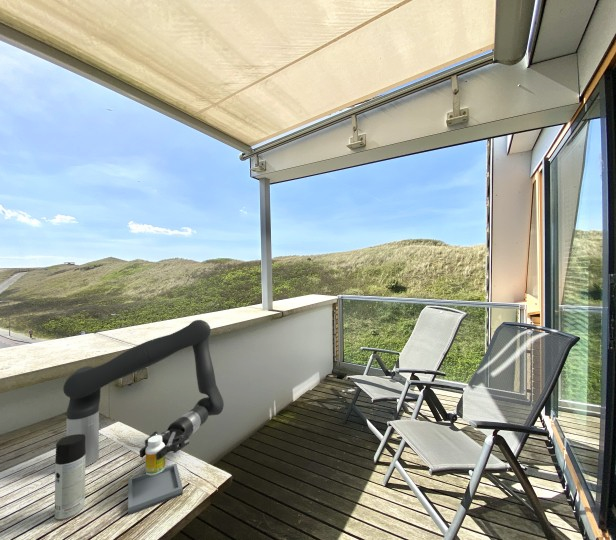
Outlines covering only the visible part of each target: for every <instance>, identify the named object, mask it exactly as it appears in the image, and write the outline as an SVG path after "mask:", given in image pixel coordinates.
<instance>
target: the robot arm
mask: <svg viewBox="0 0 616 540" xmlns="http://www.w3.org/2000/svg"><path fill="white" fill-rule="evenodd" d="M211 333H212V331H211V326H210V325H209V323H208V322H207V321H205V320H202V319H195V320H193V321H192V322H190V323H189V324H188V325H187V326H185V327H183V328H181V329H179V330H177V331H175V332H173V333H169V334H167V335H163V336H159V337H156V338H153V339H150V340H147V341H145V342H143V343H139V344H137V345H135V346H133V347H131V348H129V349H127V350H126V351H124V352H122V353H120V354H119V355H117V356H115V357H114V358H112V359H111V360H109V361H107V362H104V363H102V364H100V365H97V366H94V367H92V366H84V367H80V368H78V369H77V370H75V371H74V372H73V373H72V374H71V375H70V376H69V377H68V378H67V379H66V380H65V382H64V385H63V387H62V388H63V390H62V391H63V393H64V395H65V396H66V397H68V398H69V403H68V405H67V409H66V437H67V436H70V435H77V434H81V435H82V434H84V435H85V450H86V453H85V468H87V467H89V466H91V465H93V464H94V463H96V462H97V461H98V460H99V457H100V450H99V449H100V445H99V444H100V432H99V431H100V403H101V393H102V392H101V389H102V388H103V387H106V386H107V385H109V384H111V383H113V382H115V381H117V380H119V379H122V378H125V377H127V376H130V375H132V374H134V373H137V372H139V371H141V370H144V369H146V368H149V367H151V366H153V365H155V364H157V363H158V362H160V361H162V360H165V359H166V358H167V359H168V357H170V356H171V355H174V354H175V353H177V352H179V351H181V350H184V349H186V348H189V347H192V350H193V356H194V363H195V364H194V365H195V374H196V381H197V382H196V383H197V388H198V392H199V393H200V394H202V395H203V394H204V395H206V397H203V398H201V399H199V400H198V401H197V402H196V404H195V405H194V406H193V408H191V409H190V410H189V411H187V412H186V413H184V414H183V415H181V416H180V417H178V418H177V419H175V420H174V421H172V423H171V424H169V426H168V427H167V429H166V430H165V431H162V432H161V433H158V431H156V430H155V431H153V432H152V433H151V435H149V436H148V437H147V438H146V439H145V440H144V446H143V447H142V448H140V450H139V458H144V457H146V454H145V452H146V448H147V446H148V439H149V438H151V437H153V436H156V435H161V436H162V442H163V443H164V444H165V446H164V447H163V448H162V449H161V450H159V451H158V452H157V454H156V459H157V460H160V459H161V458H163V457H164V456H165V457H166V455H168V454H170V453H173V454H174V453H177V452H179V451H181V450H182V449H183V448H185V447H186V446H187V445H189V444H190V437H191V436H192V435H193V434H195V433H196V432H197V430H198V429H199V428H200V427H201V426H202V425H204V423H205V422H207V420H208V418H209V417H210V416H217V415H220V414H222V412H223V409H224V407H225V406H224V399H223V397H222V394H221V392H220V391H219V388H218V385H217V382H216V376H215V369H214V366H213V362H212V357H211V353H210V346H209V345H210V344H209V343H210V342H209V340H210V339H209V337H210V335H211ZM95 461H96V462H95ZM92 463H93V464H92ZM90 464H91V465H90ZM88 465H89V466H88ZM86 466H87V467H86Z"/></svg>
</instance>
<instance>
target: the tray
mask: <svg viewBox="0 0 616 540" xmlns="http://www.w3.org/2000/svg"><path fill="white" fill-rule="evenodd" d="M127 485H128V487H127V490H128V492H127V493H128V494H127V496H128V498H127V499H128V502H127V510H128V511H127V512H128V513H127V516H130V515H134V514H136V513H139V512H141V511H143V510H147V509H149V508H151V507H152V508H153V507H154V506H156V505H159V504H162V503H164V502H167V500H168V501H170V500H172V498H173V499H176V498H178V497H180V495H181V496H183V495H182V494H184V493H183V492H184V490H183V488H184V487H183V484H182V480H181V477H180V471H179V468H178V464H177V463H172V464H169V465H167V466H166V465H165V469H164V470H163V471H162V472H160V473H158V474H156V475H147V474H146V472H145V473H142V474H139V475H136V476H133V477H130V478H129V477H128V482H127ZM177 496H178V497H177Z"/></svg>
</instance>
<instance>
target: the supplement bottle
mask: <svg viewBox="0 0 616 540" xmlns="http://www.w3.org/2000/svg"><path fill="white" fill-rule="evenodd" d="M164 446H165V444H164V443H163V442H162V436H161V435H156V436H153V437H151V438H149V439H148V446H147V448H146V452H145V454H146V455H145V473H146V474H147V475H156V474H158V473H160V472H162V471H163V470H164V469H165V467H166V455H165V456H164V457H163V458H161V459H160V460H157V459H156V454H157V452H158V451H159V450H161V449H162V448H163V447H164Z"/></svg>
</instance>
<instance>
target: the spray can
mask: <svg viewBox="0 0 616 540" xmlns="http://www.w3.org/2000/svg"><path fill="white" fill-rule="evenodd" d="M85 453H86V450H85V435H84V434H82V435H81V434H77V435H70V436H67V435H66V436H65V437H63V438H61V439H60V440H58V441H57V442H56V445H55V462H54V463H55V464H54V466H55V468H54V469H55V470H54V511H53V512H54V519H55V520H58V521H65V520H68V519H70V518H72V517H74V516H75V515H78V513H80V512H81V511H82V510H83V509H84V507H85V503H86V501H85V500H86V495H85V494H86V467H85Z"/></svg>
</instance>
